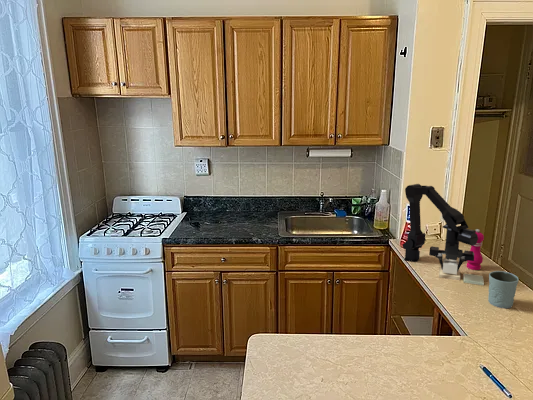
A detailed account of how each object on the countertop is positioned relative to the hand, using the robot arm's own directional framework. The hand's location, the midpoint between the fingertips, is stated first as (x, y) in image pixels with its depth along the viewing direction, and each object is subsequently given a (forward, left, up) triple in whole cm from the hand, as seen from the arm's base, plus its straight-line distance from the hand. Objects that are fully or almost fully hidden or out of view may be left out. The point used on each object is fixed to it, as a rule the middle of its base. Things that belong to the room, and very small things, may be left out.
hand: (449, 270), depth 185 cm
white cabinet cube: (0, 0, 0) cm, 0 cm away
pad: (+10, -2, -2) cm, 10 cm away
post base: (0, 0, -2) cm, 2 cm away
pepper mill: (+11, +13, -2) cm, 17 cm away
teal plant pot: (+19, -21, -3) cm, 28 cm away
